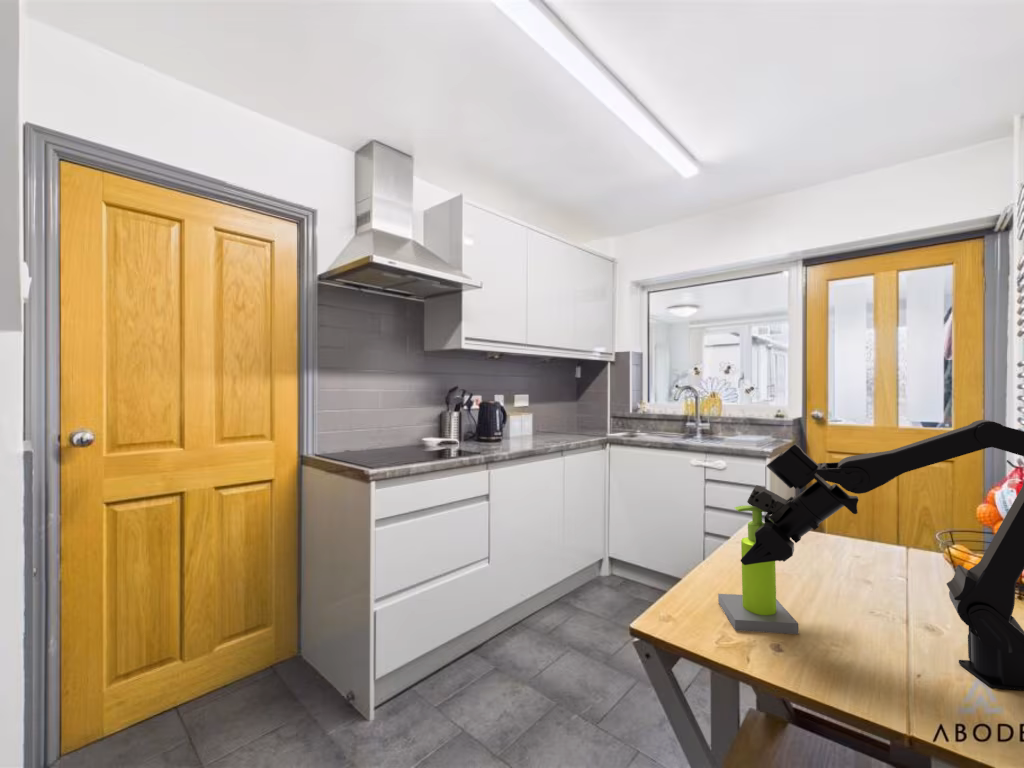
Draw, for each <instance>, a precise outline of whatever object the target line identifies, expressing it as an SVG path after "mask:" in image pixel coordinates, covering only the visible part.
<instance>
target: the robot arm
mask: <svg viewBox="0 0 1024 768" xmlns="http://www.w3.org/2000/svg"><path fill="white" fill-rule="evenodd" d="M989 448H995V449H997V450H1002V451H1004V452H1008V453H1011V454H1014V455H1018V456H1021V457H1024V430H1020V429H1017V428H1012V427H1008V426H1005V425H1003V424H1001V423H999V422H995V421H993V420H987V419H980V420H975V421H973V422H972V423H969V424H968V425H965V426H962V427H961V426H960V427H959V428H956V429H953V430H948V431H947V432H943V433H941V434H937V435H934V436H931V437H928V438H926V439H922V440H919V441H916V442H912V443H910V444H906V445H903V446H900V447H897V448H894V449H892V450H886V451H877V452H869V453H867V452H866V453H862V454H857V455H851V456H846V457H844V458H842V459H841V460H840V461H837V462H819V463H817V462H816V461H815V460H814V459H812V458H811V457H810V456H809V455H808V453H805V452H804V450H803V449H802V447H800V445H798V444H797V443H794V444H793V445H791V446H790V447H788V448H787V449H786V450H784V451H783V452H781V453H779V454H778V455H777V456H775V457H774V458H773V459H772V460H771V461H769V463H768V464H766V468H767V469H768V470H769V471H771V472H772V473H773V474H774V475H775V476H776V477H777V478H778V479H779V480H780V481H781V482H782V483H783V484H785V485H786V486H787V487H788V488H789V489H792V488H794V489H795V490H796V489H798V490H801V489H803V488H804V487H806V486H807V485H808V484H810V483H811V482H812V481H813V480H815V482H813V483H812V484H810V485H809V487H807V488H806V489H804V490H803V491H802V492H800V493H799V494H797V495H796V496H790V497H789V498H788V499H786V498H784V497H782V496H780V495H778V494H777V493H774V492H773V491H770V490H769V489H767V488H765V487H763V486H760V485H755V486H754V488H752V489H753V490H752V491H751V493H750V494H749V497H748V498H747V500H746V503H747V504H748V505H750V506H756V507H758V508H759V509H761V510H763V511H765V512H764V513H765V515H764V524H763V525H762V526H761V527H759V528H758V529H757V530H756V532H755V538H756V542H755V544H754V545H753V546H752V547H751V548H750V549H749V551H748V552H747V553H746V554H745V555H744V556H743V558H742V557H741V559H740V562H741V564H742V563H743V564H744V565H749V564H756V563H763V562H771V561H775V562H786V561H787V560H789V559H790V558H791V557H793V556H794V552H795V544H796V543H798V542H800V541H801V539H802V537H803V536H804V535H806V534H807V533H809V532H810V531H812V530H813V531H815V530H817V529H818V528H819V527H820V524H821V523H822V522H824V521H825V520H827V519H829V518H830V517H831V516H833V515H834V514H835V513H837V512H838V511H839V510H841V509H842V508H843V507H845V508H847V510H849V512H851V513H852V514H853V515H857V514H858V503H859V496H857V495H860V494H867V493H869V492H871V491H873V490H875V489H877V488H879V487H881V486H884V485H886V484H888V483H889V482H890V481H892V480H894V479H895V478H897V477H899V476H900V475H903V474H905V473H908V472H911V471H915V470H918V469H921V468H925V467H928V466H932V465H934V464H938V463H942V462H944V461H948V460H952V459H955V458H958V457H961V456H965V455H968V454H971V453H975V452H978V451H979V452H980V451H982V450H984V449H989ZM828 482H829V483H828ZM830 483H833V485H831V484H830ZM844 490H845V491H844ZM846 491H848V492H849V493H853V494H857V495H849V494H848V493H847V492H846ZM1023 572H1024V480H1023V483H1022V486H1021V488H1020V490H1019V492H1018V493H1017V495H1016V497H1015V499H1014V501H1013V503H1011V506H1010V507H1009V509H1008V511H1007V513H1006V515H1005V517H1004V518H1003V520H1002V522H1001V523H1000V525H999V527H998V529H997V531H996V532H995V534H994V536H993V537H992V539H991V542H989V545H988V546H987V548H986V550H985V552H984V554H983V555H982V557H981V559H980V561H979V562H978V563H976V564H975V565H974V566H973V567H970V568H969V569H967V568H965V567H963V566H962V565H960V564H958V565H957V566H956V567H955V573H954V575H953V577H952V579H951V580H949V581H948V582H946V583H945V584H946V586H947V588H948V590H949V592H948V596H949V600H950V601H951V603H952V605H953V607H954V609H955V611H956V613H957V614H958V617H959V618H960V620H961V621H962V622H963V623H964V624H965V625H966V626H968V634H967V653H968V654H967V655H968V656H967V657H968V659H958V664H959V665H960V666H962V667H963V668H965V669H966V670H967V671H968V672H970V673H971V674H972V675H974V676H975V677H977V678H978V679H979V680H980V681H981V682H983V683H985V685H987V686H989V687H990V688H994V689H1002V690H1005V689H1006V690H1015V691H1016V690H1017V691H1024V629H1023V628H1022V626H1021V625H1020V624H1019V622H1018V621H1017V620H1016V618H1015V617H1014V616H1013V612H1014V608H1015V602H1016V601H1015V600H1016V587H1017V583H1018V580H1019V579H1020V577H1021V575H1022V573H1023Z"/></svg>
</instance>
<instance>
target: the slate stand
mask: <svg viewBox="0 0 1024 768" xmlns="http://www.w3.org/2000/svg"><path fill="white" fill-rule="evenodd" d="M717 598H718V599H717V600H718V602H719V603H718V605H719V604H720V605H719V607H720V608H721V607H722V608H721V610H722V609H723V610H722V611H723V613H724V612H725V613H724V615H725V614H726V615H725V616H726V618H727V620H728V621H729V624H730V625H731V626H732V627H733V629H734V631H740V632H757V633H771V634H772V633H774V634H788V635H791V634H792V635H799V623H798V621H797V620H796V619H795V618H794V617H793V616H792V614H791V613H790V612H789V611H788V610H787V609H786V608H785V607H784V606H783V604H781V603H780V601H779V599H777V598H776V613H775V614H773V615H759V614H755V613H752V612H750V611H748V610H746V609H745V608H744V607H743V598H742V594H733V593H718V594H717Z"/></svg>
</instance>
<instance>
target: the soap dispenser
mask: <svg viewBox="0 0 1024 768" xmlns="http://www.w3.org/2000/svg"><path fill="white" fill-rule="evenodd" d="M734 509H735V510H736V511H737V512H739V513H741V512H748V511H749V512H752V514H751V515H752V518H751V519H752V520H750V521H749V522H747V536H746V537H743V538H741V540H740V541H741V542H740V545H741V547H740V548H741V549H740V550H741V559H742V558H743V556H744V555H745V554H746V553H747V552H748V551H749V549H750V548H751V547H752V546H753V545H754V544H755V542H756V538H755V532H756V530H757V529H758V528H759V527H761V526H762V525H763V524H764V523H765V521H764V522H763V513H766V512H765V511H763V510H761V509H759V508H758V507H756V506H752V505H750V504H747V505H739V506H734ZM741 584H742V585H741V586H742V588H741V590H742V591H741V592H742V594H741V595H742V598H743V607H744V608H745V609H746V610H748V611H750V612H752V613H755V614H759V615H773V614H775V613H776V599H777V580H776V561H771V562H763V563H756V564H749V565H744V564H743V563H742V562H741Z"/></svg>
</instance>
